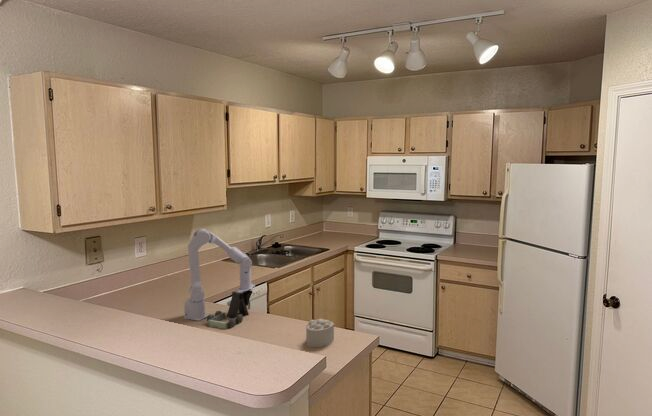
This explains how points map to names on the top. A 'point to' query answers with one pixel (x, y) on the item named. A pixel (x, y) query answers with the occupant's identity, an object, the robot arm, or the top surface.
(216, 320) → the chassis bay
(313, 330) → the lumpy-topped squat cylinder
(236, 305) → the phone stand
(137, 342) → the top surface
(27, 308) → the top surface
